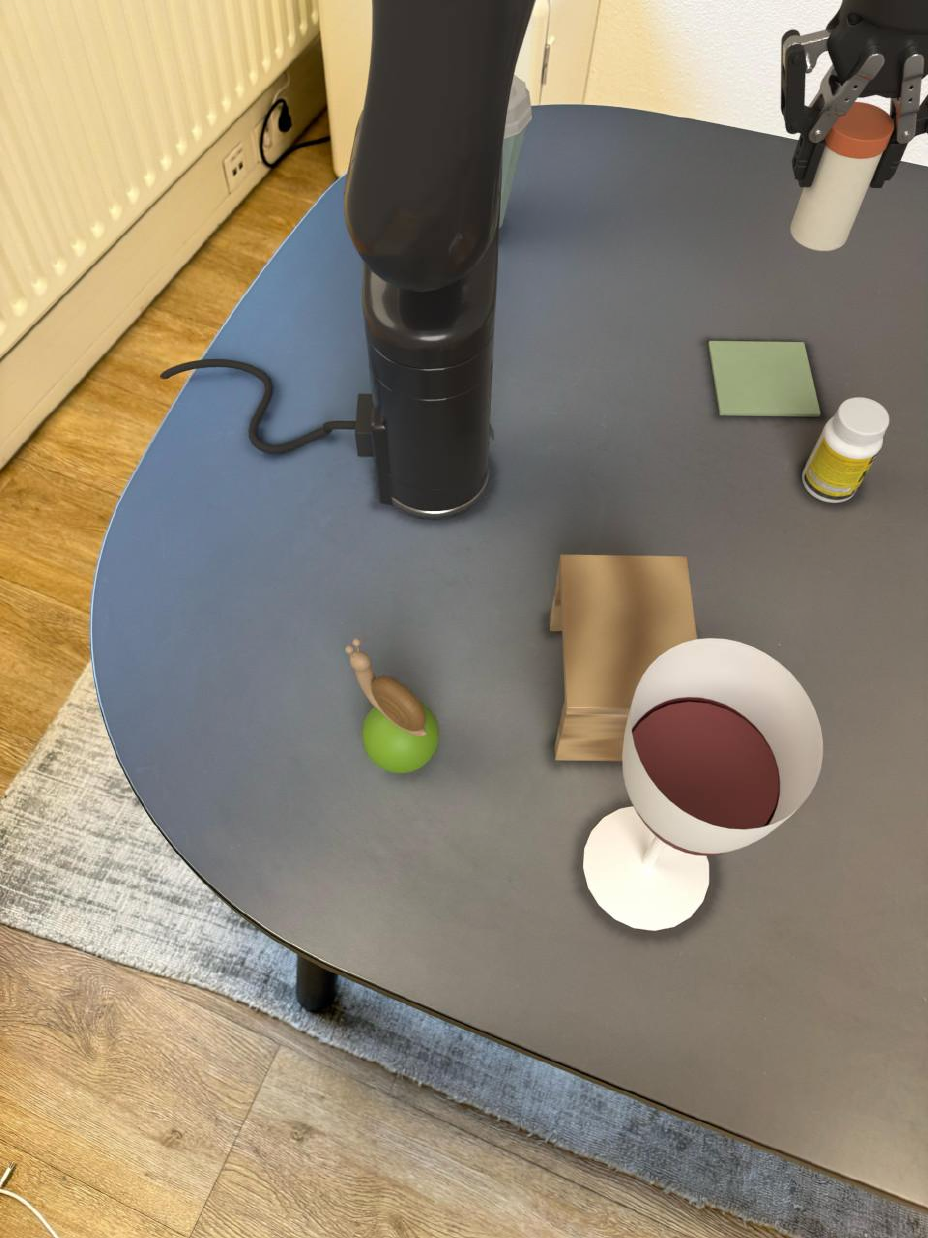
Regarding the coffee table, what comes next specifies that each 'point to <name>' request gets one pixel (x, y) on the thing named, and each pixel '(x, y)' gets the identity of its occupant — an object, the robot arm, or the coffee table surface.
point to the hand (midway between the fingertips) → (837, 179)
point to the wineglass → (700, 776)
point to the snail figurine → (393, 720)
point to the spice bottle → (842, 177)
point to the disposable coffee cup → (513, 137)
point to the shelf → (613, 641)
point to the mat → (763, 379)
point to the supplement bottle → (845, 450)
